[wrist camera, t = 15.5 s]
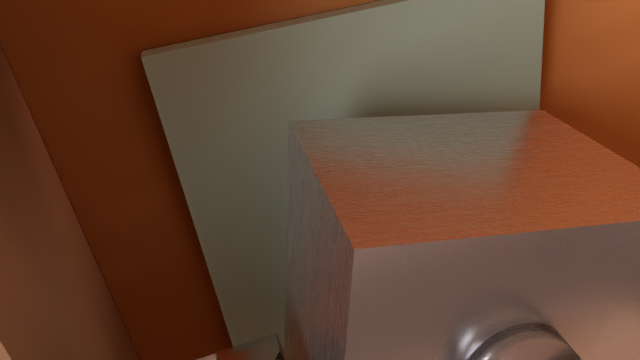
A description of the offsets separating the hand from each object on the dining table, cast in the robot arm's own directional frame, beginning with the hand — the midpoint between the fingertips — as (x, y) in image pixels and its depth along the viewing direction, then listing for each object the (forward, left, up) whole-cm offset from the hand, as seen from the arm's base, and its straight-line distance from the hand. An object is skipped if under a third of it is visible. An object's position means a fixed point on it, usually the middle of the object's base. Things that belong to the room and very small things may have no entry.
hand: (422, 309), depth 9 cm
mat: (0, 0, -3) cm, 3 cm away
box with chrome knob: (0, 0, -1) cm, 1 cm away
